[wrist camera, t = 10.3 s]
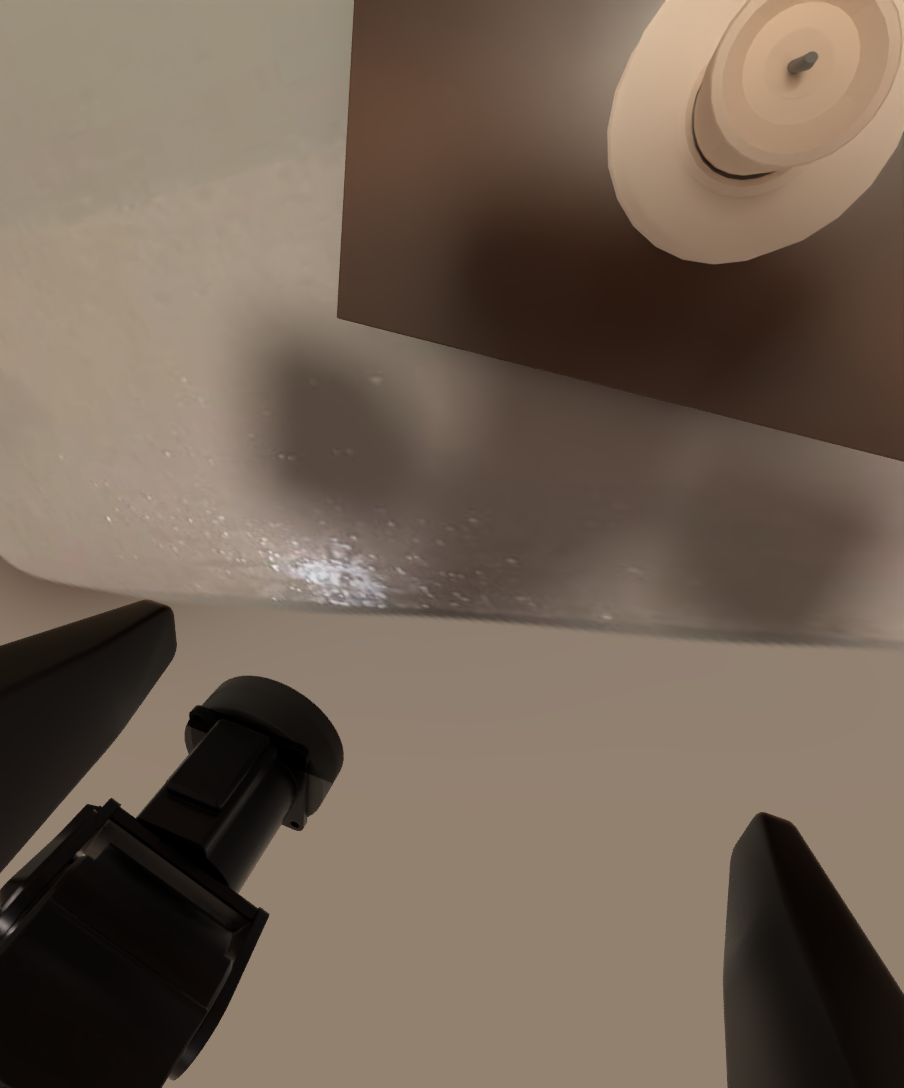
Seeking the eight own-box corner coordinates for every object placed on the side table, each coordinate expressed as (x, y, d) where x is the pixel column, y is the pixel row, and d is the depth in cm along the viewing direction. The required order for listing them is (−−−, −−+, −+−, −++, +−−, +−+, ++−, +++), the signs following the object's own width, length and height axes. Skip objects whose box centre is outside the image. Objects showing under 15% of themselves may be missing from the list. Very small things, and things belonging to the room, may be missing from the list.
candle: (623, -24, 13) (490, -393, 4) (923, -53, 11) (1600, -688, 3) (597, 259, 16) (483, 375, 7) (839, 264, 14) (1065, 416, 6)
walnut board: (1107, 503, 15) (1126, 518, 15) (348, 312, 19) (336, 318, 18) (1927, -489, 8) (2043, -550, 7) (400, -496, 11) (382, -537, 11)
